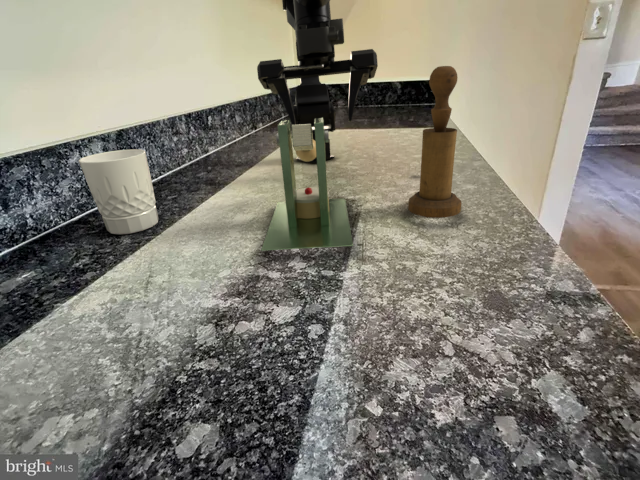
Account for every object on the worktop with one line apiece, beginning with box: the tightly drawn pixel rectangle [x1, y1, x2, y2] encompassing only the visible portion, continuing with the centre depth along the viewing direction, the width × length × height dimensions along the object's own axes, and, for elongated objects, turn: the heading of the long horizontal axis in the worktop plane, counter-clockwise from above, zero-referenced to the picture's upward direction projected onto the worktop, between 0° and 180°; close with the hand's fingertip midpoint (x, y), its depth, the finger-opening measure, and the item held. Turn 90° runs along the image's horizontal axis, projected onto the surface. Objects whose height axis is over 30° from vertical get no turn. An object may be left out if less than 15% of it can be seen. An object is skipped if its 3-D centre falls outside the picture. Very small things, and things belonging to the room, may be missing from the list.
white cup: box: [78, 148, 160, 235], centre depth 50 cm, size 8×8×10 cm
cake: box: [296, 187, 330, 219], centre depth 48 cm, size 5×5×3 cm
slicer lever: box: [291, 124, 316, 163], centre depth 46 cm, size 11×3×3 cm, turn 179°
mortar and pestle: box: [407, 65, 462, 219], centre depth 44 cm, size 7×6×18 cm
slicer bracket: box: [260, 118, 354, 252], centre depth 44 cm, size 16×10×13 cm, turn 0°
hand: (322, 124), depth 60 cm, fingers open, 9 cm apart
